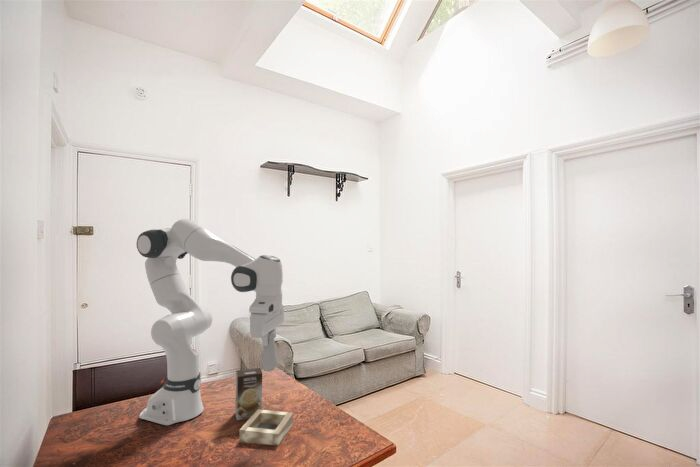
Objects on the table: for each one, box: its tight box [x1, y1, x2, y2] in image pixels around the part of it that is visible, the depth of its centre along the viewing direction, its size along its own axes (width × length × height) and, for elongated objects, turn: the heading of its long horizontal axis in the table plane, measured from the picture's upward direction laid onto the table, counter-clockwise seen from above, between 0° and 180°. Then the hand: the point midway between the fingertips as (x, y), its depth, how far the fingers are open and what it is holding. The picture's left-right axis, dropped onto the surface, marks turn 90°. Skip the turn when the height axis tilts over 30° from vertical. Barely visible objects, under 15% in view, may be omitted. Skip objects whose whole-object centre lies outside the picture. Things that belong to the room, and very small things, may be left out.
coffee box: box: [235, 367, 263, 421], centre depth 130 cm, size 9×6×16 cm
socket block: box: [238, 409, 294, 446], centre depth 118 cm, size 14×14×4 cm
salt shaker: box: [259, 330, 278, 372], centre depth 118 cm, size 6×6×13 cm
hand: (268, 343), depth 118 cm, fingers closed on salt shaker, 3 cm apart
